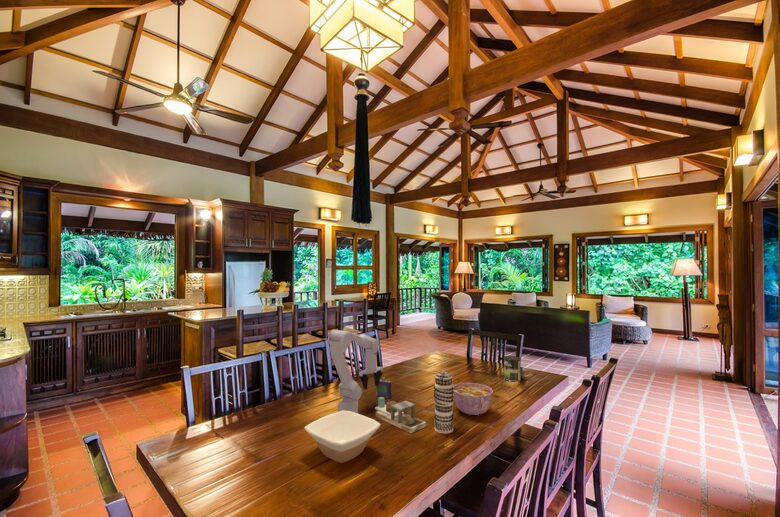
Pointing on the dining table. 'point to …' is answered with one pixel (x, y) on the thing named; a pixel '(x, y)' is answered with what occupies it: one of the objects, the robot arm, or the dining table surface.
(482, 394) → the bowl of food
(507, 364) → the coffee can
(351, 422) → the bowl
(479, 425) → the dining table surface
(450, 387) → the white patterned tall cylinder
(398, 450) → the dining table surface
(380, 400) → the block
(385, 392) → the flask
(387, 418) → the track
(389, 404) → the walnut block
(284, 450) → the dining table surface
